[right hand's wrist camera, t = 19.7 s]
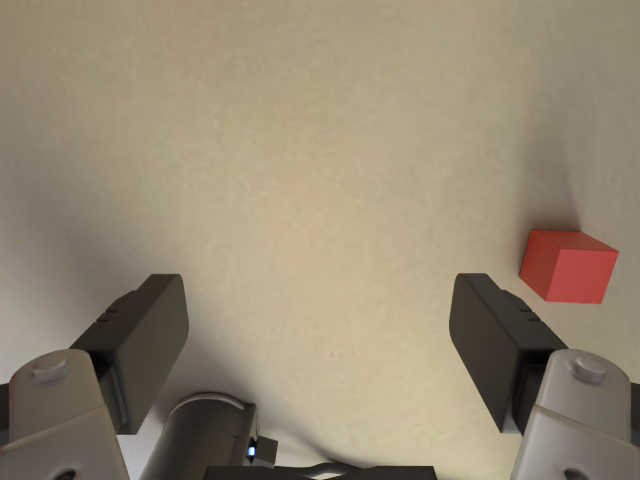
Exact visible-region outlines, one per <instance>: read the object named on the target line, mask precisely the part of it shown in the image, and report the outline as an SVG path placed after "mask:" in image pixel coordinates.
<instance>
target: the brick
mask: <svg viewBox="0 0 640 480" xmlns="http://www.w3.org/2000/svg"><path fill="white" fill-rule="evenodd" d="M618 253H619V251H617V250H615V249H613V248H612V247H610V246H608V245H606V244H604V243H602V242H600V241H598V240H596V239H594V238H592V237H590V236H589V235H587V234H585V233H583V232H571V231H552V230H533V229H532V230H531V232H530V236H529V240H528V244H527V248H526V252H525V256H524V260H523V263H522V267H521V271H520V275H519V277H520V278H521V279H522V280H523V281H524V282H525V283H526V284H527V285H528V286H529V287H530V288H531V289H533V290H534V291H535V292H536V293H537V294H538V295H539V296H540V297H541V298H542V299H543V300H544V301H547V302H567V303H586V304H601V302H602V299H603V296H604V293H605V290H606V287H607V285H608V282H609V279H610V276H611V273H612V270H613V267H614V264H615V261H616V259H617V256H618Z"/></svg>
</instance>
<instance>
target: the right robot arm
mask: <svg viewBox="0 0 640 480" xmlns="http://www.w3.org/2000/svg"><path fill="white" fill-rule="evenodd" d="M449 330H450V336H451V339H452V342H453V344H454V346H455V348H456V350H457V351H458V353H459V355H460V357H461V359H462V361H463V363H464V365H465V367H466V368H467V370H468V372H469V374H470V376H471V378H472V380H473V382H474V384H475V386H476V387H477V389H478V391H479V393H480V395H481V397H482V399H483V401H484V403H485V404H486V406H487V408H488V410H489V412H490V414H491V416H492V418H493V420H494V422H495V423H496V425H497V427H498V429H499V431H500V433H521V435H522V436H523V439H522V443H521V446H520V449H519V452H518V455H517V458H516V462H515V465H514V468H513V471H512V474H511V477H510V480H640V384H636V383H631V382H630V380H629V377H628V376H627V375H626V374H625V372H624V371H622V370H621V369H620V368H619V367H618V366H616V365H615V364H613V363H612V362H610V361H608V360H606V359H605V358H602V357H600V356H598V355H595V354H592V353H589V352H586V351H581V350H575V349H569V348H568V347H567V346H566V345H565V344H564V343H563V342H562V341H561V340H560V339H559V337H558V336H557V335H556V334H555V333H554V332H553V331H552V330H551V329H550V328H549V327H548V326H547V325H546V324H545V323H544V322H543V321H541V319H540V318H539V317H538V316H537V315H536V314H535V313H534V312H532V310H531V309H530V307H529V306H528V305H527V304H526V303H525V302H524V301H523V300H522V299H520V298H519V297H517V296H515V295H513V294H511V293H510V292H508V291H506V290H501V289H500V288H499V287H498V286H497V285H496V284H495V283H494V281H493V280H492V279H491V278H490V277H489V276H488V275H487V274H485V273H459V274H458V275H457V276H456V279H455V284H454V291H453V298H452V305H451V312H450V319H449ZM188 331H189V319H188V312H187V305H186V299H185V292H184V285H183V280H182V277H181V275H180V274H151V275H150V276H149V277H148V278H147V279H146V281H145V282H144V283H143V284H142V285H141V286H140V287H139V288H138V289H137V290H136V291H131V292H129V293H127V294H126V295H124V296H122V297H120V298H118V299H117V300H115V301H114V302H113V303H112V305H111V306H110V307H109V308H108V309H107V310H106V311H105V313H103V314H102V315H101V316H100V317H99V318H98V319H97V321H96V322H94V323H93V324H92V325H91V326H90V327H89V328H88V329H87V330H86V331H85V332H84V333H83V334H82V335H81V336H80V337H79V338H78V339H77V340H76V341H75V342H74V343H73V344H72V346H71V347H70V348H69V349H65V350H59V351H54V352H51V353H48V354H45V355H42V356H40V357H38V358H35V359H34V360H32V361H30V362H28V363H27V364H25V365H24V366H22V367H21V368H20V369H19V370H18V371H16V372H15V374H14V375H13V376H12V377H11V380H10V382H9V383H7V384H2V385H0V480H130V477H129V474H128V471H127V468H126V465H125V462H124V458H123V455H122V452H121V449H120V446H119V443H118V439H117V436H116V435H136V434H137V433H138V431H139V429H140V427H141V425H142V423H143V421H144V419H145V418H146V416H147V414H148V412H149V410H150V408H151V406H152V404H153V403H154V401H155V399H156V397H157V395H158V393H159V391H160V389H161V388H162V386H163V384H164V382H165V380H166V378H167V376H168V374H169V373H170V371H171V369H172V367H173V365H174V363H175V361H176V359H177V358H178V356H179V354H180V352H181V350H182V348H183V346H184V345H185V343H186V340H187V337H188ZM259 434H260V430H259V424H258V418H257V408H256V406H255V405H245V404H243V403H241V402H240V401H238V400H236V399H234V398H232V397H229V396H226V395H223V394H217V393H201V394H195V395H192V396H189V397H187V398H185V399H183V400H182V401H180V402H179V403H178V404H177V405H176V406H175V407H174V408H173V409H172V411H171V413H170V415H169V417H168V419H167V422H166V425H165V426H164V428H163V430H162V433H161V436H160V438H159V440H158V442H157V444H156V446H155V448H154V450H153V452H152V454H151V456H150V458H149V460H148V462H147V464H146V466H145V468H144V470H143V472H142V474H141V476H140V478H139V480H316V479H312V478H310V477H315V476H318V475H320V474H323V473H335V474H341V475H340V476H336V477H332V478H328V479H324V480H437V477H436V474H435V470H434V467H433V466H376V467H372V468H368V469H364V470H360V469H357V468H355V467H352V466H348V465H344V464H339V463H330V462H327V463H321V464H318V465H315V466H312V467H284V466H274V465H275V460H276V453H277V446H278V441H276V440H272V439H269V438H266V437H262V436H259Z"/></svg>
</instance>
